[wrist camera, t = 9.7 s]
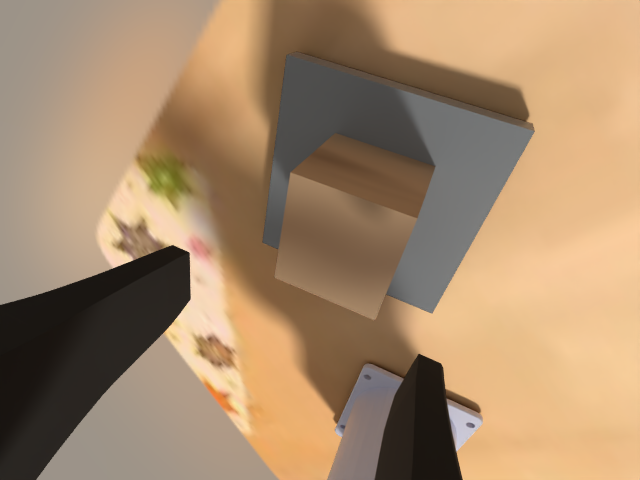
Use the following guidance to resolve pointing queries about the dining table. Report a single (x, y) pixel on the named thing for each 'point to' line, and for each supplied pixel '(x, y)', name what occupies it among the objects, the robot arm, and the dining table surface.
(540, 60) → the dining table surface
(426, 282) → the base plate
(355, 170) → the walnut brick
